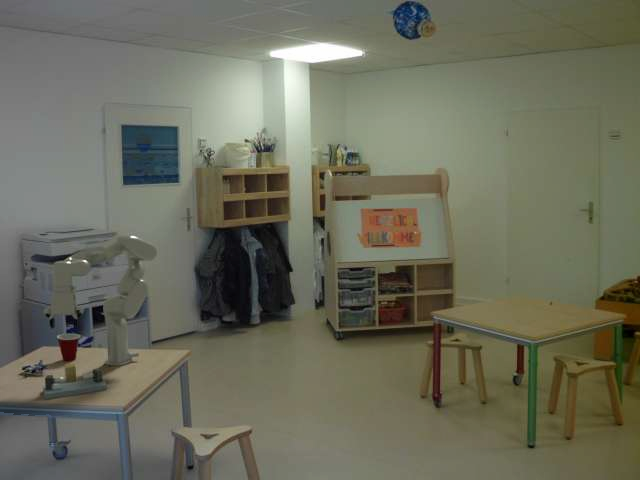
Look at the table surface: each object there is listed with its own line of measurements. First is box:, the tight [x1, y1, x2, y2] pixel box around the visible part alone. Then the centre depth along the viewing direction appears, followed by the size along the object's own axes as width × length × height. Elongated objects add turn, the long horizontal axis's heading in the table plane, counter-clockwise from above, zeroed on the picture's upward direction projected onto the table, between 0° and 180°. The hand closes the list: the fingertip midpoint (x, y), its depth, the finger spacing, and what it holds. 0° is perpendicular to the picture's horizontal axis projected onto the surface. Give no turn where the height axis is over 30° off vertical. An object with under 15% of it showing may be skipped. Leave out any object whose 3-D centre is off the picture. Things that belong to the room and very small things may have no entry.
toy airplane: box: [17, 359, 49, 378], centre depth 312 cm, size 13×14×4 cm
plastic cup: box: [56, 333, 81, 362], centre depth 334 cm, size 11×11×12 cm
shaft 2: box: [81, 367, 104, 383], centre depth 291 cm, size 8×4×5 cm, turn 132°
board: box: [42, 378, 108, 400], centre depth 288 cm, size 24×11×2 cm, turn 117°
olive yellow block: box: [63, 363, 77, 383], centre depth 300 cm, size 5×4×7 cm
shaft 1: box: [44, 374, 66, 390], centre depth 285 cm, size 8×4×5 cm, turn 102°
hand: (64, 327), depth 303 cm, fingers open, 9 cm apart
